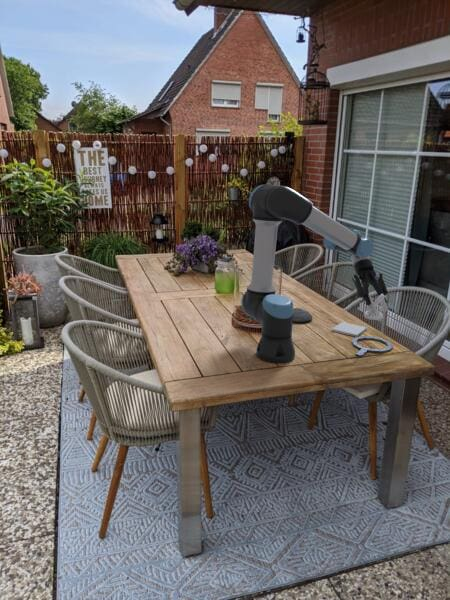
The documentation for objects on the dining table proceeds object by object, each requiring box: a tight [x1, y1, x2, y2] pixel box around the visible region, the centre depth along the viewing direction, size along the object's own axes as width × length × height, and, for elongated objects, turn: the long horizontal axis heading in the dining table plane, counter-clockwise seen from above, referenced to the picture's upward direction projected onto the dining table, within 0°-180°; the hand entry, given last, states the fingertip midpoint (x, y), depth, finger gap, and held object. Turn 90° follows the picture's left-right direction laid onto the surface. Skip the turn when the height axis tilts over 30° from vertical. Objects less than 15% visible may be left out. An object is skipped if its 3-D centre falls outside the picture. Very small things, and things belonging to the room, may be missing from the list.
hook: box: [363, 294, 386, 321], centre depth 183 cm, size 8×12×7 cm
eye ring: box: [351, 335, 394, 358], centre depth 184 cm, size 23×16×1 cm
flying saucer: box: [293, 307, 313, 323], centre depth 218 cm, size 15×15×6 cm
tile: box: [331, 321, 368, 338], centre depth 203 cm, size 12×12×1 cm
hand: (379, 311), depth 180 cm, fingers closed on hook, 5 cm apart
